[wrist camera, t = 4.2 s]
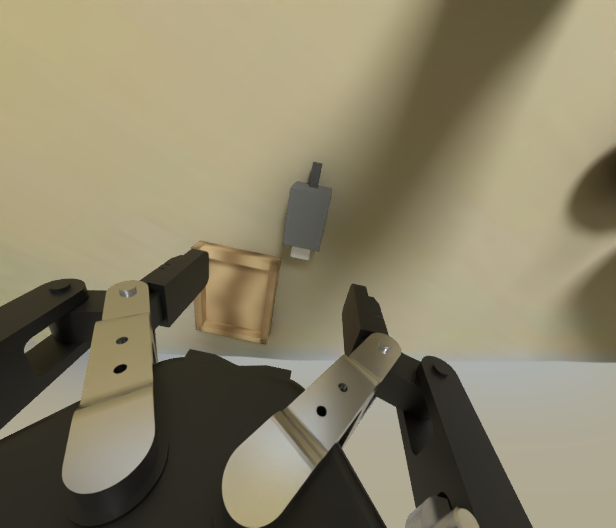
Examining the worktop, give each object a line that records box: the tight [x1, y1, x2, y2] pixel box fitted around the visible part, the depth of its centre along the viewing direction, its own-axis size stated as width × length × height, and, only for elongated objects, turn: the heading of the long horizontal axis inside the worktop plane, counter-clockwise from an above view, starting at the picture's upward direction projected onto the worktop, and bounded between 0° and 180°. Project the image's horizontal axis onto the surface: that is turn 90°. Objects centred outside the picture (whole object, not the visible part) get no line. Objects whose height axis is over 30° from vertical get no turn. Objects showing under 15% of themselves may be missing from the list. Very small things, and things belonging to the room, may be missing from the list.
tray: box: [191, 241, 281, 344], centre depth 33 cm, size 11×14×2 cm
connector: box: [283, 162, 332, 260], centre depth 25 cm, size 4×11×4 cm, turn 169°
